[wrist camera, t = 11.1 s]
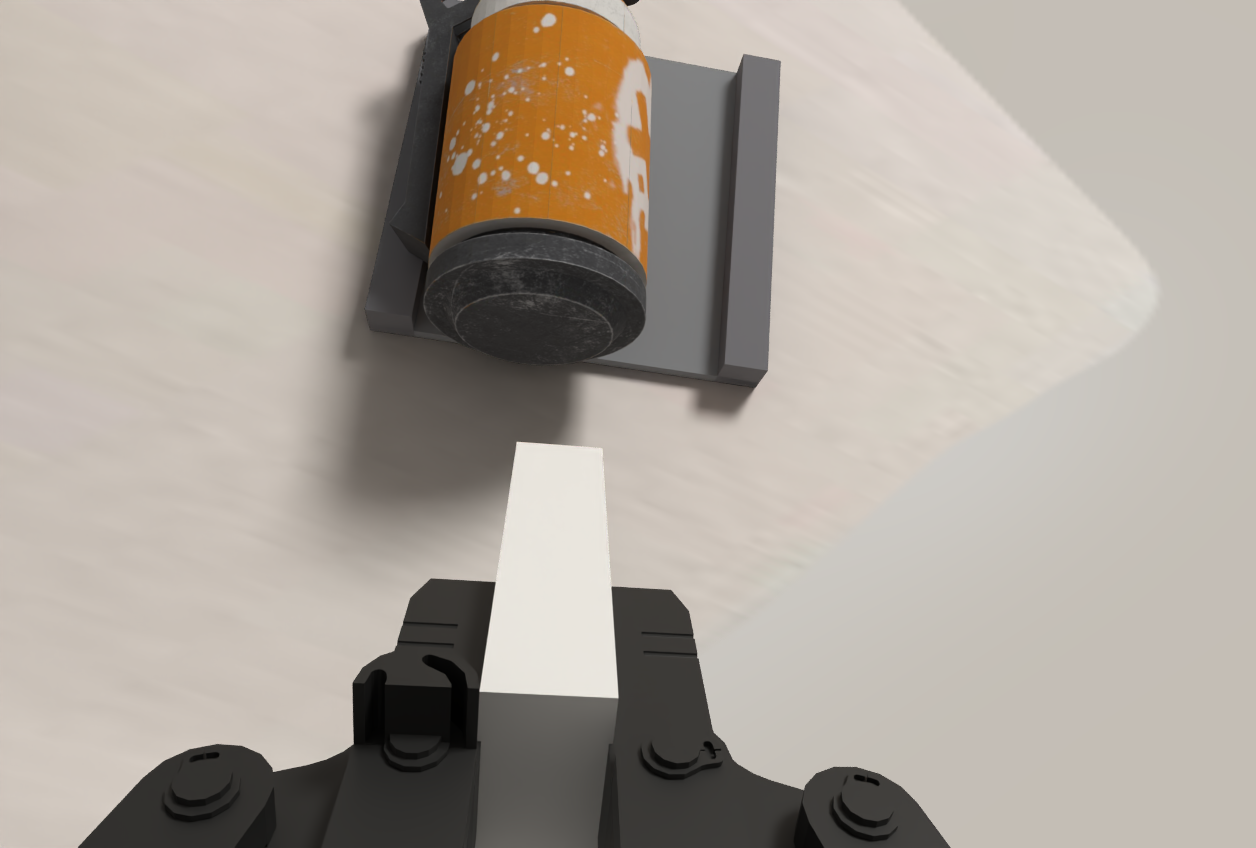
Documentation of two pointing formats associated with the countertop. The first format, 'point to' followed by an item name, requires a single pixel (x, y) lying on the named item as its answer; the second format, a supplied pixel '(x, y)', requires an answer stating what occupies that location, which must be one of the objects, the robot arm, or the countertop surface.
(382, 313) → the tray
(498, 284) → the canister
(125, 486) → the countertop surface
